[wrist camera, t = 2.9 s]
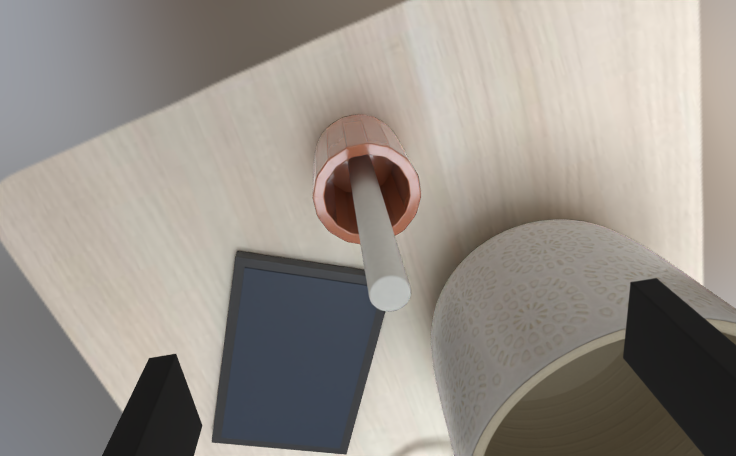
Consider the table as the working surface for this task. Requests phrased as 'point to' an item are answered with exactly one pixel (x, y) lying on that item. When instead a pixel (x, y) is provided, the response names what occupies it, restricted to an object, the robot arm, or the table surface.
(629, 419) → the planter
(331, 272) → the tablet
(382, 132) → the cup
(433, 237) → the table surface
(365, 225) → the stylus
